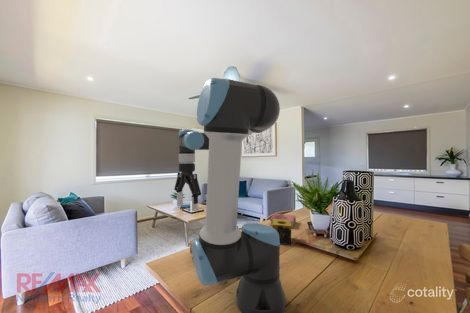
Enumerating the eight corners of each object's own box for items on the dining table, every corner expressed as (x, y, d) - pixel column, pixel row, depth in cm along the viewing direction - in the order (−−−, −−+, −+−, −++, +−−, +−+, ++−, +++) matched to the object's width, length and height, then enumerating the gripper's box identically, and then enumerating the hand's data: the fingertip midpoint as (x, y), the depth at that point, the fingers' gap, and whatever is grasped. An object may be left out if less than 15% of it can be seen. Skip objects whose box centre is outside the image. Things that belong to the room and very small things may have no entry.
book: (295, 222, 142) (295, 215, 142) (292, 229, 128) (292, 221, 128) (275, 220, 148) (275, 213, 148) (269, 226, 134) (269, 218, 134)
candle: (272, 236, 117) (272, 218, 117) (290, 237, 115) (290, 219, 115) (271, 243, 107) (271, 224, 107) (291, 245, 105) (291, 225, 105)
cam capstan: (193, 255, 89) (193, 244, 89) (186, 250, 93) (186, 240, 93) (219, 245, 99) (219, 235, 99) (212, 241, 103) (212, 232, 103)
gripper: (209, 163, 90) (208, 211, 90) (181, 162, 108) (180, 202, 108) (194, 163, 85) (194, 215, 85) (167, 162, 103) (167, 204, 103)
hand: (186, 208), depth 96 cm, fingers open, 13 cm apart
